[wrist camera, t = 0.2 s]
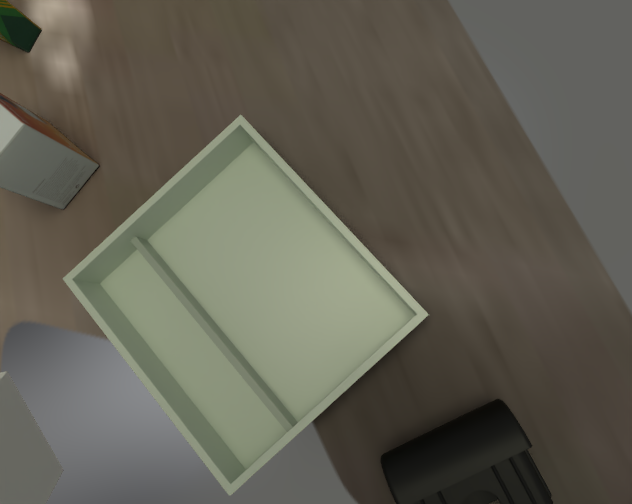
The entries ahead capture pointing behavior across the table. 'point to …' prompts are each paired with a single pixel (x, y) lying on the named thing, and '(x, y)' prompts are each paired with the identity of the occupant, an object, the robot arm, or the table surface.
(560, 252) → the table surface
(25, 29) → the crayon box
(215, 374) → the organizer tray
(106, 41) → the table surface
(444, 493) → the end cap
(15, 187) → the small box
